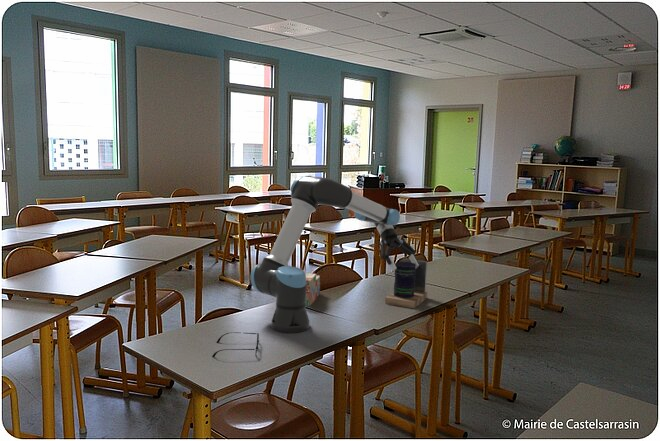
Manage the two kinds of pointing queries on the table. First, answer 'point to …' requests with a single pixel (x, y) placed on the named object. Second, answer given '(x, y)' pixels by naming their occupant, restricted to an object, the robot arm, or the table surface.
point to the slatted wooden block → (407, 300)
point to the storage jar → (404, 279)
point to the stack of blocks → (312, 288)
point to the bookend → (419, 275)
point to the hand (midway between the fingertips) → (405, 268)
